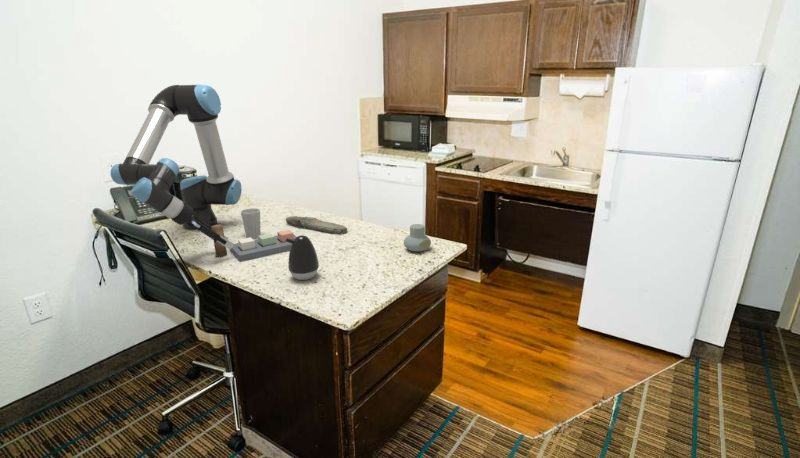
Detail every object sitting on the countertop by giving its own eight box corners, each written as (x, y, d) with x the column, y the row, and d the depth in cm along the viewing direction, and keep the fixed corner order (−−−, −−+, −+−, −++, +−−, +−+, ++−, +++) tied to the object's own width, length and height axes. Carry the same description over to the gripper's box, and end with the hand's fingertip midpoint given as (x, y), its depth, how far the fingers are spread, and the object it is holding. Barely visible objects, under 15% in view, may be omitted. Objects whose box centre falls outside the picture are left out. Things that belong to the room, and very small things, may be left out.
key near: (238, 246, 170) (237, 239, 169) (251, 244, 173) (250, 237, 172) (242, 250, 166) (241, 243, 165) (255, 247, 169) (254, 240, 168)
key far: (277, 238, 179) (277, 232, 178) (289, 236, 182) (288, 229, 181) (282, 242, 175) (281, 235, 174) (294, 239, 178) (293, 232, 177)
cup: (257, 240, 184) (254, 213, 180) (240, 239, 186) (236, 212, 182) (266, 234, 192) (263, 208, 188) (249, 233, 193) (246, 207, 189)
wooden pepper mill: (214, 254, 169) (210, 225, 165) (225, 252, 171) (221, 224, 167) (217, 258, 166) (213, 228, 162) (228, 255, 168) (224, 226, 164)
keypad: (229, 250, 173) (229, 245, 172) (291, 238, 187) (290, 232, 186) (240, 261, 162) (239, 255, 161) (304, 247, 176) (304, 241, 176)
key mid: (258, 242, 174) (258, 235, 174) (270, 240, 177) (270, 233, 176) (262, 246, 171) (262, 239, 170) (275, 243, 173) (274, 236, 172)
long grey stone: (339, 240, 189) (352, 234, 198) (339, 228, 188) (352, 223, 196) (280, 224, 205) (294, 220, 213) (279, 213, 204) (294, 209, 212)
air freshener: (418, 243, 180) (419, 220, 177) (433, 248, 175) (434, 225, 172) (400, 250, 173) (400, 226, 170) (415, 255, 168) (415, 231, 164)
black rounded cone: (291, 271, 153) (287, 231, 149) (320, 270, 154) (318, 230, 149) (286, 284, 144) (282, 241, 139) (318, 282, 145) (315, 240, 140)
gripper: (165, 212, 162) (216, 243, 176) (175, 226, 146) (230, 259, 160) (178, 197, 164) (227, 229, 178) (190, 208, 148) (243, 243, 162)
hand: (229, 243), depth 169 cm, fingers open, 8 cm apart
